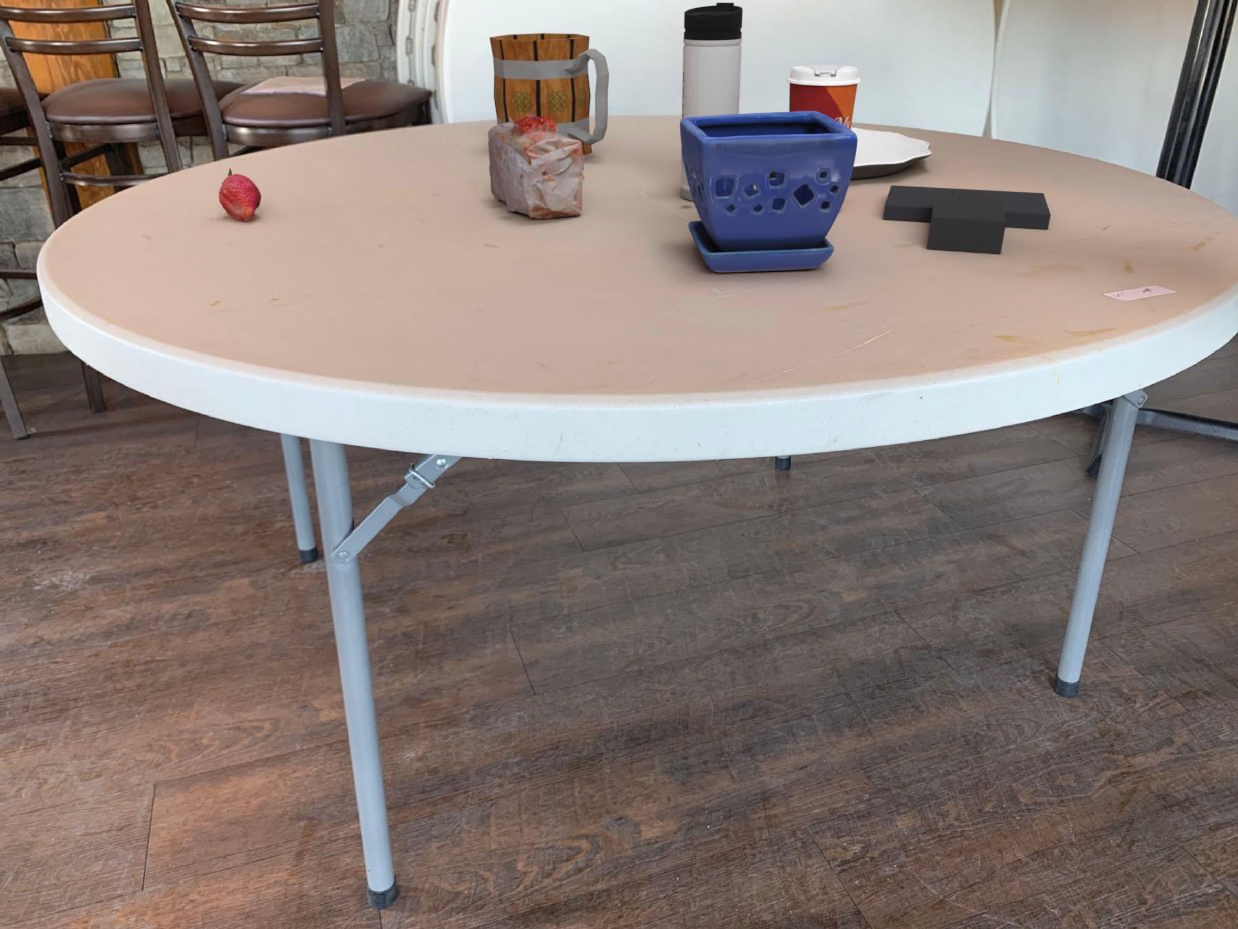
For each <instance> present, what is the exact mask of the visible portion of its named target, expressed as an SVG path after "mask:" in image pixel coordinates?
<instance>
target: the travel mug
mask: <svg viewBox="0 0 1238 929" xmlns="http://www.w3.org/2000/svg"><path fill="white" fill-rule="evenodd" d="M683 13H684V14H683V29H684V31H683V40H682V43H683V44H684V45H683V46H682V88H681V89H682V91H681V93H682V96H681V119H683V118H688V117H700V116H714V115H729V114H740V97H741V96H740V95H741V72H742V71H741V70H742V69H741V68H742V51H743V50H742V48H743V46H742V45H741V44H742V43H743V37H742V35H743V34H742V33H743V32H742V28H743V13H744V10H743V7H742V6H739V5H735V2H716V3H715V4H714V5H704V6H699V7H698V6H697V7H692V8H689V9H687V10H685V11H684V12H683ZM680 154H681V156H680V181H681V182H680V196H681V197H682V198H683V199H684V200H686V201H691V202H694V201H693V198H692V195H691V192H690V188H689V185H688V181H687V177H686V171H685V166H684V161H683V154H682V146H681V153H680Z"/></svg>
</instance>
